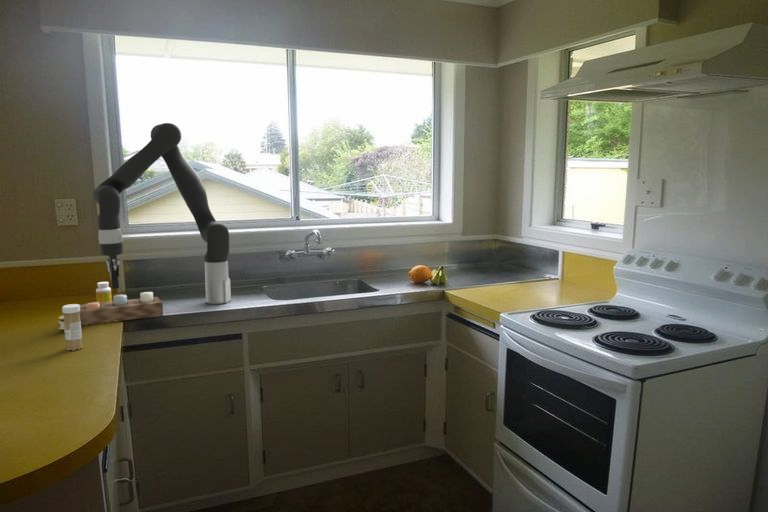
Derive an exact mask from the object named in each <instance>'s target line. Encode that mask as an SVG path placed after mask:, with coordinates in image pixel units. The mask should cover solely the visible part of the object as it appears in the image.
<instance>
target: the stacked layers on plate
mask: <svg viewBox="0 0 768 512" xmlns="http://www.w3.org/2000/svg"><path fill="white" fill-rule="evenodd" d="M58 319H60V320H59V321H58V323H59V325H60V326H59V327H58V329H59V330H64V314H62V315H60V316H58Z"/></svg>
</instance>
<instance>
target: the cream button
mask: <svg viewBox="0 0 768 512" xmlns="http://www.w3.org/2000/svg"><path fill="white" fill-rule="evenodd" d="M139 295H140V296H139V297H140V298H139V299H140V300H141V303H146V302H153V297H154V291H153V292H152V291H144V292H143V291H142V292H140V294H139Z"/></svg>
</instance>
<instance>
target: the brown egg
mask: <svg viewBox="0 0 768 512" xmlns="http://www.w3.org/2000/svg"><path fill="white" fill-rule="evenodd" d="M85 304H86V309H92V308H100V303H99V302H97V301H93V302H88V303H85Z"/></svg>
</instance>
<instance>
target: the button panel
mask: <svg viewBox="0 0 768 512" xmlns="http://www.w3.org/2000/svg"><path fill="white" fill-rule="evenodd" d="M86 304H87V303H85V304H79V305H80V321H81V325H83V326H89V325H88V324H91V325H97V324H96V323H99V324H103V323H102V322H107V323H109V322H108V321H115V320H120V321H129V320H138V319H145V318H152V317H153V318H154V317H160V316H164V306H163V305H164V304H163V301H162V300H161V299H160V298H159V297H158V296H153V302H146V303H141V300H140V298H133V299H127V305H119V306H114V300H112V302H103V303H100V308H92V309H86ZM120 321H119V322H120ZM115 322H116V321H115Z"/></svg>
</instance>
